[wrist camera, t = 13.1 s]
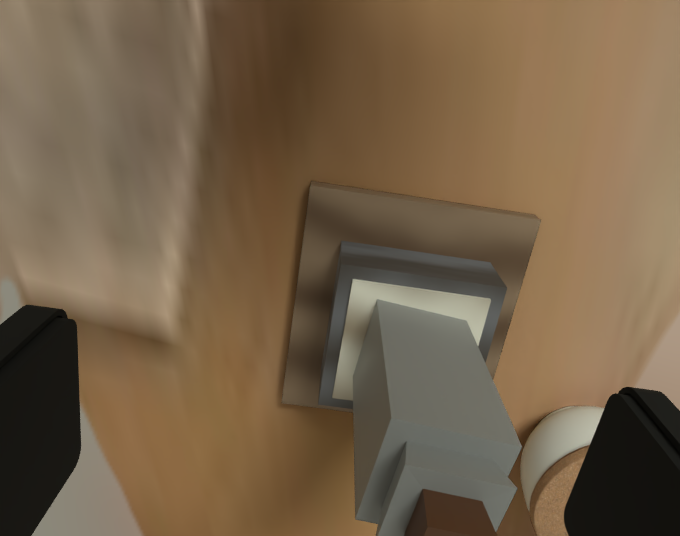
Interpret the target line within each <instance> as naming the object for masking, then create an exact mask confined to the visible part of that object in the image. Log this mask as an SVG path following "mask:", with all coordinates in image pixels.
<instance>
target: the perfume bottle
mask: <svg viewBox="0 0 680 536" xmlns="http://www.w3.org/2000/svg"><path fill="white" fill-rule="evenodd" d="M353 423H354V476H355V519H356V520H361V521H366V522H371V523H376V524H378V527H377V532H376V536H497V534H496V531H497V529H498V527H499V525H500V523H501V521H502V519H503V517H504V515H505V513H506V511H507V509H508V507H509V505H510V503H511V501H512V499H513V497H514V495H515V493H516V490H517V487H516V486H515V485H514V484H513V483H512V481H511V480H510V479H509V478H508V476H509V474H510V471H511V469H512V467H513V465H514V463H515V461H516V459H517V457H518V455H519V453H520V450H521V448H522V445H521V443H520V441H519V439H518V436H517V434H516V432H515V429H514V427H513V425H512V423H511V420H510V418H509V416H508V413H507V411H506V409H505V407H504V404H503V402H502V400H501V398H500V395H499V393H498V391H497V388H496V386H495V384H494V382H493V379H492V377H491V375H490V373H489V370H488V368H487V366H486V363H485V361H484V359H483V357H482V354H481V352H480V350H479V348H478V345H477V343H476V341H475V338H474V336H473V334H472V332H471V329H470V327H469V325H468V322H467V321H466V320H462V319H458V318H454V317H450V316H445V315H441V314H437V313H433V312H429V311H425V310H420V309H416V308H412V307H408V306H404V305H399V304H395V303H391V302H387V301H383V300H379V299H377V301H376V304H375V307H374V310H373V314H372V317H371V320H370V323H369V326H368V330H367V333H366V336H365V339H364V342H363V346H362V349H361V352H360V355H359V358H358V361H357V365H356V368H355V371H354V374H353Z"/></svg>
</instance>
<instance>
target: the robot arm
mask: <svg viewBox="0 0 680 536" xmlns="http://www.w3.org/2000/svg"><path fill="white" fill-rule="evenodd" d="M80 433H81V431H80V402H79V373H78V344H77V325H76V322H75V321H74V320H73V319H68V318H67V315H66V312H65V311H64V310H63V309H56V308H49V307H41V306H34V305H25V306H23V307H22V308H21V309H19V310H18V311H17V312H16V313H14V314H13V315H12V316H11V317H9V318H8V319H7V320H6V321H4V322H3V323H2V324H1V325H0V536H31V535H32V534H33V532H34V531H35V529H36V527H37V526H38V524H39V523H40V521H41V520H42V518H43V517H44V515H45V514H46V512H47V510H48V509H49V507H50V506H51V504H52V503H53V501H54V499H55V498H56V496H57V495H58V493H59V492H60V490H61V489H62V487H63V486H64V484H65V482H66V481H67V479H68V478H69V476H70V475H71V473H72V472H73V470H74V468H75V467H76V464H77V462H78V459H79V455H80V451H81V434H80ZM564 523H565V528H566V531H567V533H568V535H569V536H680V411H679V410H678V409H677V408H676V407H675V405H674V404H673V403H672V402H671V401H670V400H669V399H668V398H667V397H666V396H665V395H664V394H663V393H662V392H658V391H654V390H646V389H639V388H632V387H625V388H622V389H621V390H620V391H619V393H618V394H612V395H611V396H610V397H609V399H608V401H607V404H606V406H605V409H604V411H603V414H602V416H601V418H600V421H599V423H598V426H597V428H596V431H595V433H594V436H593V438H592V441H591V443H590V446H589V448H588V451H587V453H586V456H585V458H584V461H583V463H582V466H581V468H580V471H579V473H578V476H577V478H576V481H575V483H574V486H573V488H572V491H571V493H570V496H569V498H568V501H567V503H566V506H565V509H564Z"/></svg>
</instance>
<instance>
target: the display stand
mask: <svg viewBox="0 0 680 536" xmlns="http://www.w3.org/2000/svg"><path fill="white" fill-rule="evenodd" d="M540 223H541V220H540V219H539V218H538V217H537V216H536V215H533V214H527V213H520V212H513V211H507V210H500V209H494V208H487V207H480V206H474V205H467V204H460V203H454V202H447V201H441V200H434V199H427V198H421V197H414V196H407V195H401V194H394V193H387V192H381V191H374V190H368V189H361V188H354V187H348V186H341V185H334V184H328V183H321V182H315V181H311V185H310V191H309V199H308V206H307V214H306V222H305V229H304V237H303V244H302V252H301V259H300V267H299V274H298V282H297V289H296V297H295V305H294V312H293V320H292V327H291V335H290V342H289V350H288V357H287V365H286V373H285V380H284V388H283V395H282V403H284V404H292V405H300V406H307V407H315V408H322V409H330V410H338V411H345V412H353V374H354V371H355V368H356V365H357V361H358V358H359V355H360V352H361V349H362V346H363V342H364V339H365V336H366V333H367V330H368V326H369V323H370V320H371V317H372V314H373V310H374V307H375V304H376V301H377V299H379V300H383V301H387V302H391V303H395V304H399V305H404V306H408V307H412V308H416V309H420V310H425V311H429V312H433V313H437V314H441V315H445V316H450V317H454V318H458V319H462V320H466V321H467V322H468V325H469V327H470V329H471V332H472V334H473V336H474V338H475V341H476V343H477V345H478V348H479V350H480V352H481V354H482V357H483V359H484V361H485V363H486V366H487V368H488V370H489V373H490V375H491V377H492V379H493V378H494V375H495V372H496V368H497V365H498V362H499V359H500V355H501V352H502V349H503V345H504V342H505V339H506V335H507V332H508V329H509V325H510V322H511V319H512V315H513V312H514V309H515V305H516V302H517V299H518V295H519V292H520V289H521V286H522V282H523V279H524V276H525V272H526V269H527V266H528V262H529V259H530V256H531V252H532V249H533V246H534V242H535V239H536V236H537V232H538V229H539V226H540Z"/></svg>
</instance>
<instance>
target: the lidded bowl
mask: <svg viewBox="0 0 680 536" xmlns="http://www.w3.org/2000/svg"><path fill="white" fill-rule="evenodd" d="M604 409H605V408H602V407H596V406H569V407H564V408H561V409H558V410H556V411H554V412H552V413H550V414H549V415H547V416H546V417H545V418H543V419H542V420H541V421H540V423H539V424H538V425H537V426H536V428H535V429H534V430H533V431H532V432H531V434H530V436H529V437H528V439H527V441H526V443H525V446H524V448H523V451H522V456H521V462H520V477H521V485H522V490H523V494H524V499H525V502H526V505H527V508H528V511H529V513H530V518H531V523H532V526H533V528H534V531H535V533H536V535H537V536H569V535H568V533H567V531H566V528H565V523H564V509H565V506H566V503H567V501H568V498H569V496H570V493H571V491H572V488H573V486H574V483H575V481H576V478H577V476H578V473H579V471H580V468H581V466H582V463H583V461H584V458H585V456H586V453H587V451H588V448H589V446H590V443H591V441H592V438H593V436H594V433H595V431H596V428H597V426H598V423H599V421H600V418H601V416H602V414H603V411H604Z"/></svg>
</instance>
